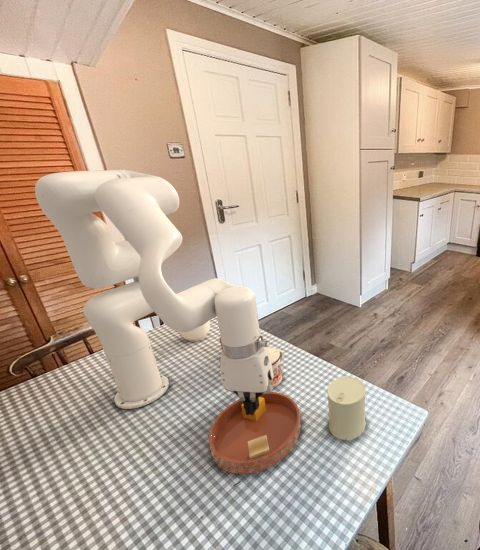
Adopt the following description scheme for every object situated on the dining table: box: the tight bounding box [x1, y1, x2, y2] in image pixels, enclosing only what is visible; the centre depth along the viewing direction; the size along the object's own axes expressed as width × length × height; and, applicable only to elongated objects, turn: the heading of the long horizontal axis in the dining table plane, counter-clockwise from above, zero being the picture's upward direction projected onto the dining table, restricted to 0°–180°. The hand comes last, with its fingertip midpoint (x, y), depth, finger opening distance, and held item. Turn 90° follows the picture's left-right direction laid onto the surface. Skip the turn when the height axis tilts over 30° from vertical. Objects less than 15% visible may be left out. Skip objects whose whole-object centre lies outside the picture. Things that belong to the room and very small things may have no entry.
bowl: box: [208, 391, 302, 475], centre depth 72 cm, size 20×20×4 cm
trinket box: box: [178, 320, 211, 342], centre depth 111 cm, size 11×11×9 cm
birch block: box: [248, 435, 270, 460], centre depth 66 cm, size 4×4×4 cm
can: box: [326, 376, 367, 441], centre depth 74 cm, size 9×9×12 cm
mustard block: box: [241, 397, 266, 421], centre depth 78 cm, size 4×4×4 cm
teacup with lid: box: [266, 346, 284, 389], centre depth 90 cm, size 12×9×12 cm
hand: (252, 410), depth 71 cm, fingers closed
